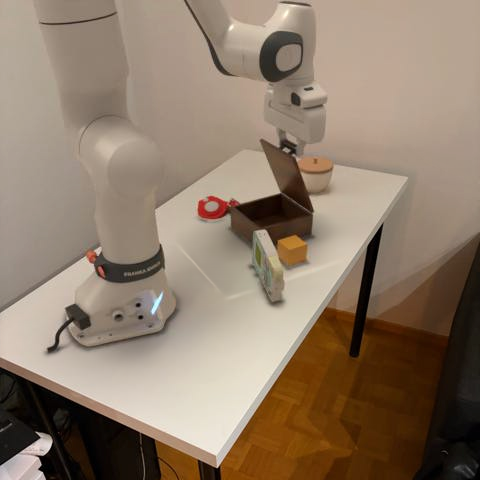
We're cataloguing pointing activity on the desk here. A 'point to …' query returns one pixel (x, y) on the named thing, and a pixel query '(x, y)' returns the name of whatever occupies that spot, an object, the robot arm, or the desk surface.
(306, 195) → the lid
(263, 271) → the handheld gaming console
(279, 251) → the block
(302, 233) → the chest
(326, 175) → the trinket box
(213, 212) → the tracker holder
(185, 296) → the desk surface
